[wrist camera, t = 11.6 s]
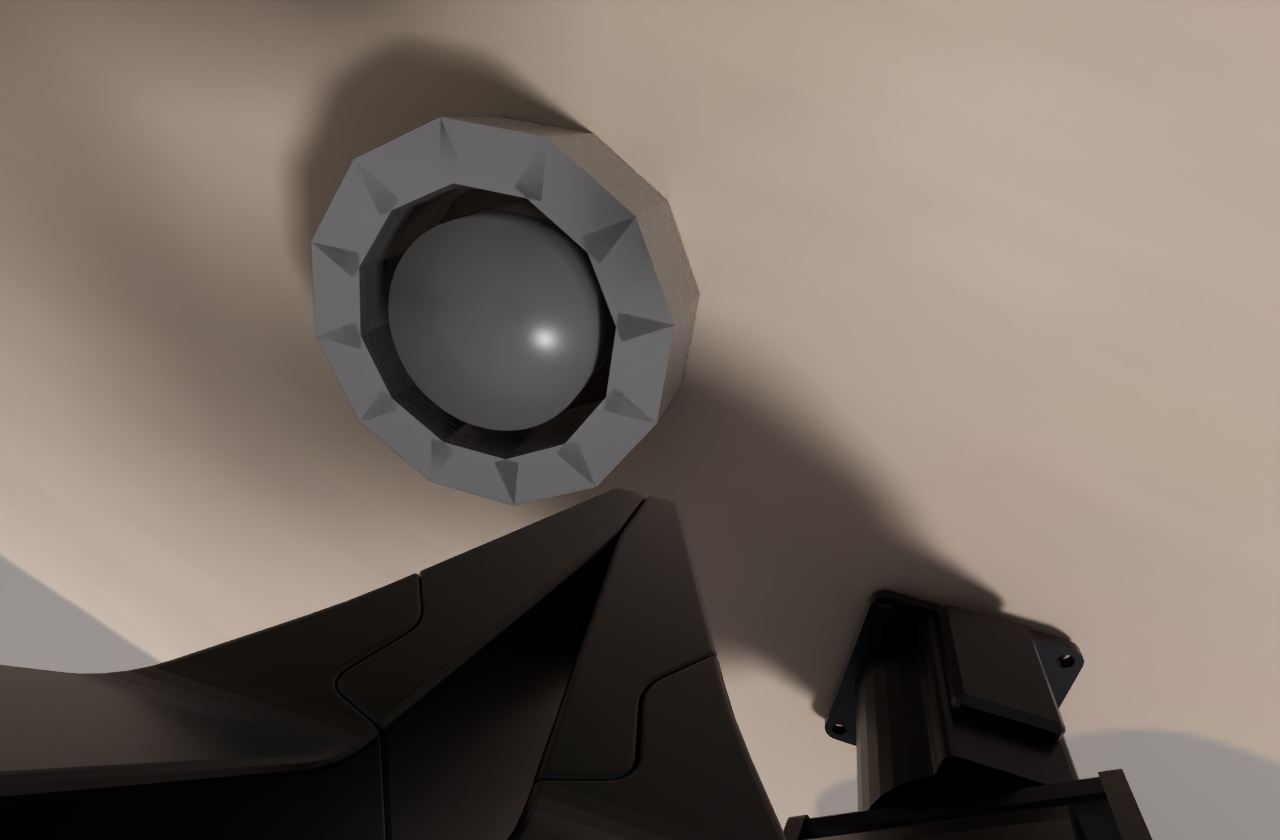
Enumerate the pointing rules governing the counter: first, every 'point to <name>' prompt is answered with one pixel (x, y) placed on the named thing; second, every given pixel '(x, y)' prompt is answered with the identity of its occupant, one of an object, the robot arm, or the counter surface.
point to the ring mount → (578, 204)
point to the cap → (500, 317)
